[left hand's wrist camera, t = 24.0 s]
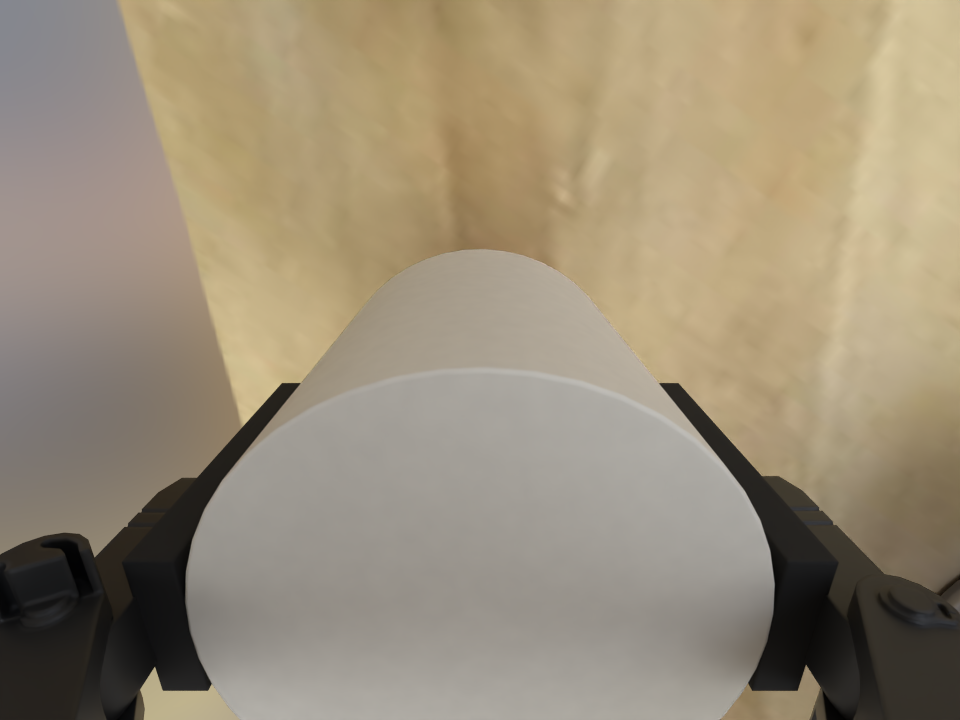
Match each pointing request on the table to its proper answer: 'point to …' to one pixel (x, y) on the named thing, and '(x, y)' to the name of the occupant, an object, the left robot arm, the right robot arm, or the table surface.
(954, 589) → the right robot arm
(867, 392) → the table surface
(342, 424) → the canister
